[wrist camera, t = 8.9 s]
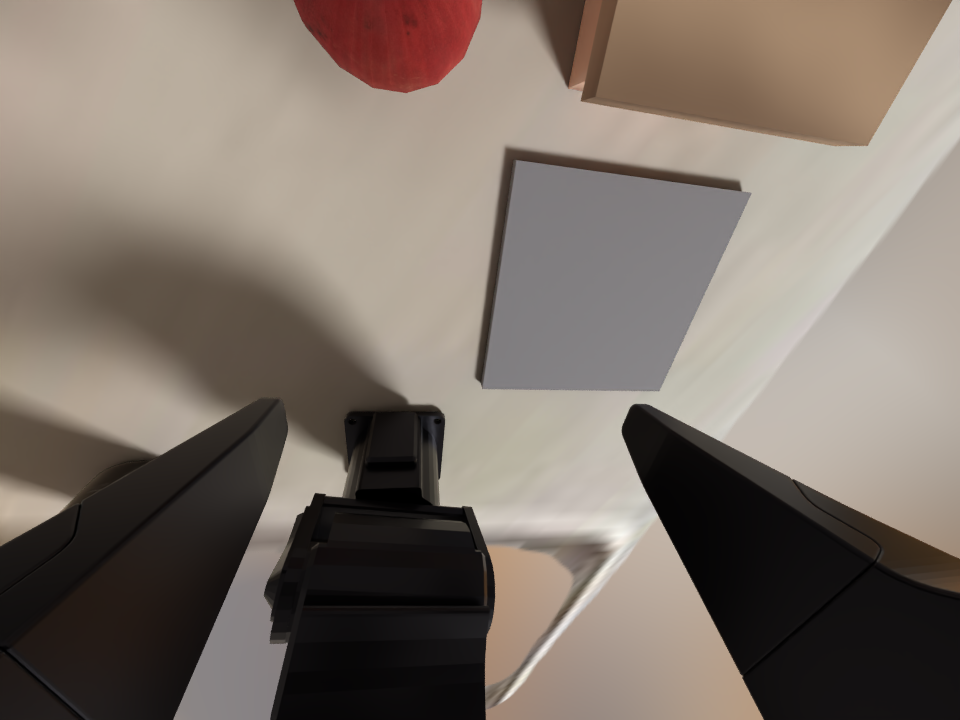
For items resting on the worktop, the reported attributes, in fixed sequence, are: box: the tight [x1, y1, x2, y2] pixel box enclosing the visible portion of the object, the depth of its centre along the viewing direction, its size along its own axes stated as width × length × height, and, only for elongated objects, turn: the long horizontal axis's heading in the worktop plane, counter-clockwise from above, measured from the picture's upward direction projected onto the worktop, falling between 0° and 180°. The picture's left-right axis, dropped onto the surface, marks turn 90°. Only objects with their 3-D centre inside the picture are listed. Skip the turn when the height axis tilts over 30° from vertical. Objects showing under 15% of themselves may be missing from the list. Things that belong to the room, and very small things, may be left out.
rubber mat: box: [481, 160, 751, 391], centre depth 21 cm, size 13×13×1 cm
